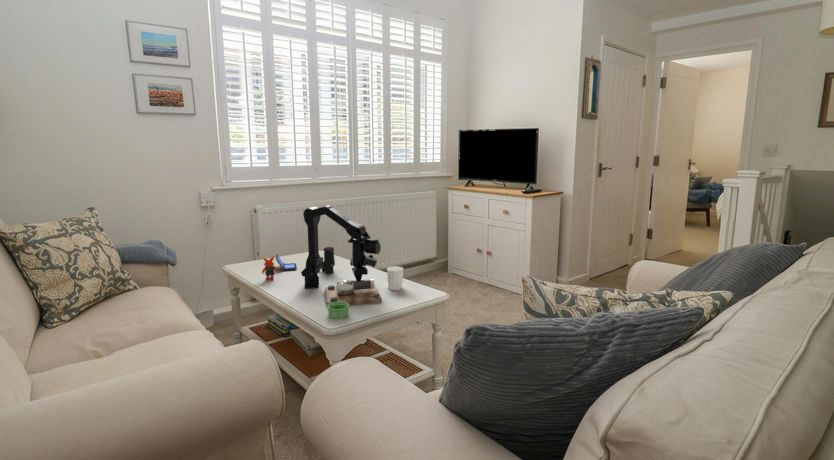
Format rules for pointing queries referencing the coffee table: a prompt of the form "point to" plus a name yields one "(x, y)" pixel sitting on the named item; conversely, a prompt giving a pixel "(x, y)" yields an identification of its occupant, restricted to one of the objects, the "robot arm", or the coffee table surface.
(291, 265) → the handheld game console
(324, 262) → the scope
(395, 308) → the coffee table surface
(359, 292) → the base plate
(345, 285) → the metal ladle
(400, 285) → the white cup
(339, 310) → the ramekin
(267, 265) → the toy animal
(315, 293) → the coffee table surface
